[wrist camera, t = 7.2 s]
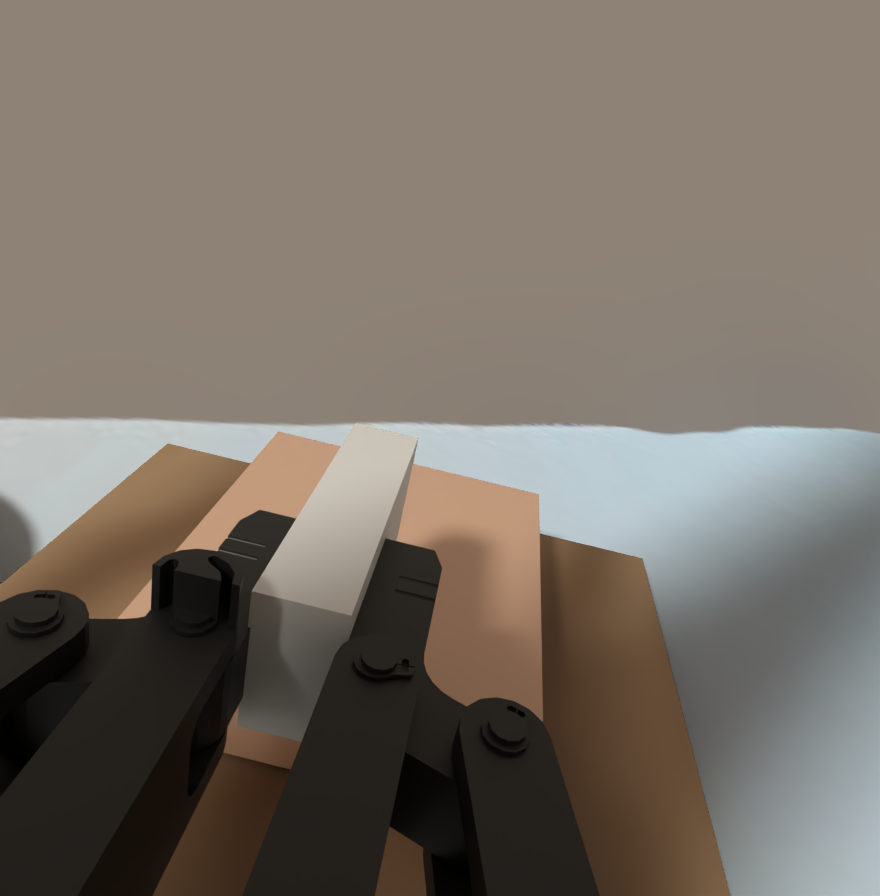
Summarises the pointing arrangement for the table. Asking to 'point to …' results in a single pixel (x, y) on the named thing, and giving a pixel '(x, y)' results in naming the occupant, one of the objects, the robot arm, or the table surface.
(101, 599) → the board
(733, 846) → the table surface
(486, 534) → the tile
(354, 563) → the robot arm
